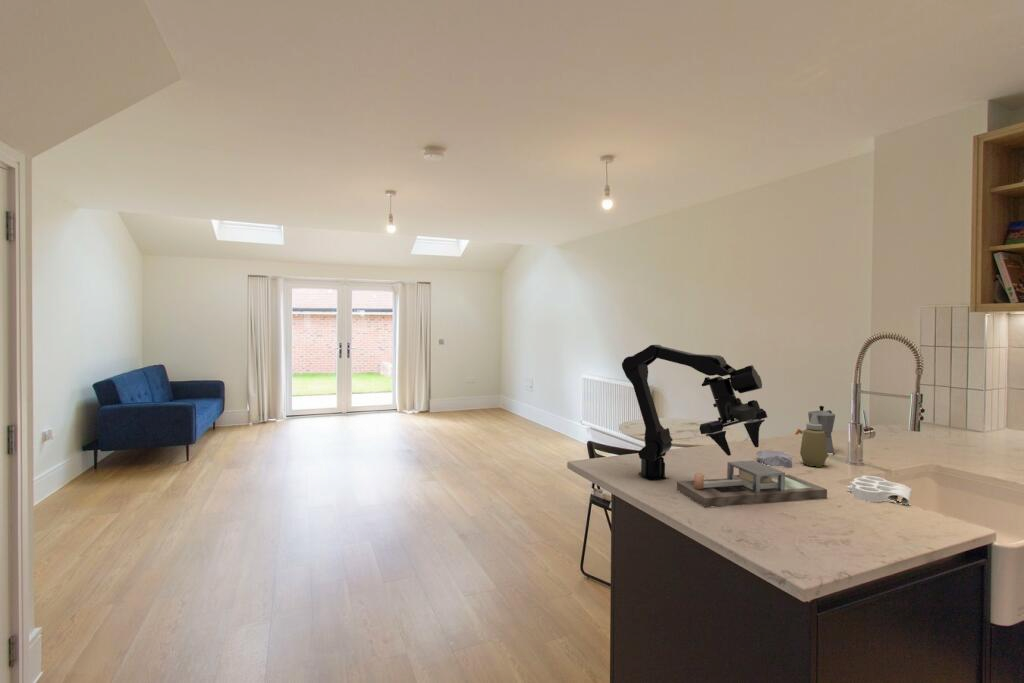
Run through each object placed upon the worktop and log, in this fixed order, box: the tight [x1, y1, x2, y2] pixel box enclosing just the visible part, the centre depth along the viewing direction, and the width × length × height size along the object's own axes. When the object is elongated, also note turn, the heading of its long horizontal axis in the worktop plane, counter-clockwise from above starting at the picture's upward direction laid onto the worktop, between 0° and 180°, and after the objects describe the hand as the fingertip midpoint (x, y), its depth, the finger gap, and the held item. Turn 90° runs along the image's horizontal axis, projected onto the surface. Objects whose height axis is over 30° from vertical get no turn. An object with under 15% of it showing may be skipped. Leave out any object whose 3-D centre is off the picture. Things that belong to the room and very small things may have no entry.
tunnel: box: [726, 460, 786, 493], centre depth 138 cm, size 9×12×5 cm
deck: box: [676, 474, 828, 508], centre depth 138 cm, size 38×14×2 cm, turn 101°
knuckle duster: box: [845, 475, 913, 506], centre depth 138 cm, size 3×18×15 cm
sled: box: [694, 472, 778, 490], centre depth 137 cm, size 23×8×4 cm, turn 101°
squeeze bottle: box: [799, 414, 828, 468], centre depth 168 cm, size 8×8×18 cm
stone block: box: [756, 449, 793, 468], centre depth 171 cm, size 12×5×10 cm
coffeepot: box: [807, 405, 836, 454], centre depth 186 cm, size 15×9×18 cm, turn 126°
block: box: [738, 469, 772, 484], centre depth 138 cm, size 6×6×4 cm
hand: (743, 451), depth 135 cm, fingers open, 9 cm apart
